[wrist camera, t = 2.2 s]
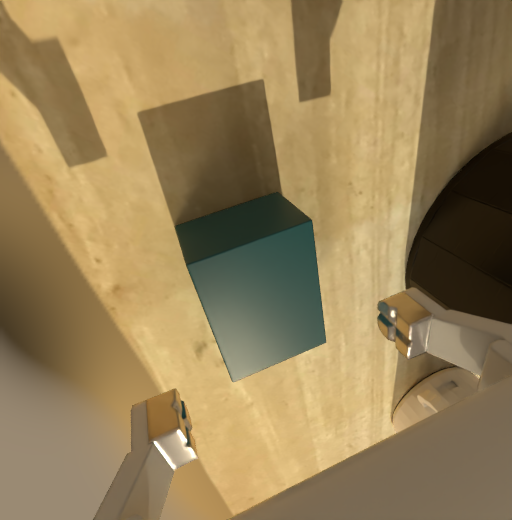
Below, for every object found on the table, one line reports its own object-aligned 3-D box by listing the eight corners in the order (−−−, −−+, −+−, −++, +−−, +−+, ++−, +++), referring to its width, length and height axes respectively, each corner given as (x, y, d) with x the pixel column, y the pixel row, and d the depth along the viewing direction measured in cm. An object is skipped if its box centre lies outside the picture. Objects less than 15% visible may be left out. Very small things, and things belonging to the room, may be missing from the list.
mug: (472, 395, 34) (571, 490, 26) (399, 443, 34) (478, 552, 26) (464, 330, 27) (597, 432, 19) (373, 390, 27) (471, 516, 19)
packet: (174, 225, 14) (185, 265, 12) (277, 191, 15) (312, 219, 12) (216, 334, 18) (232, 383, 15) (296, 301, 19) (326, 342, 16)
